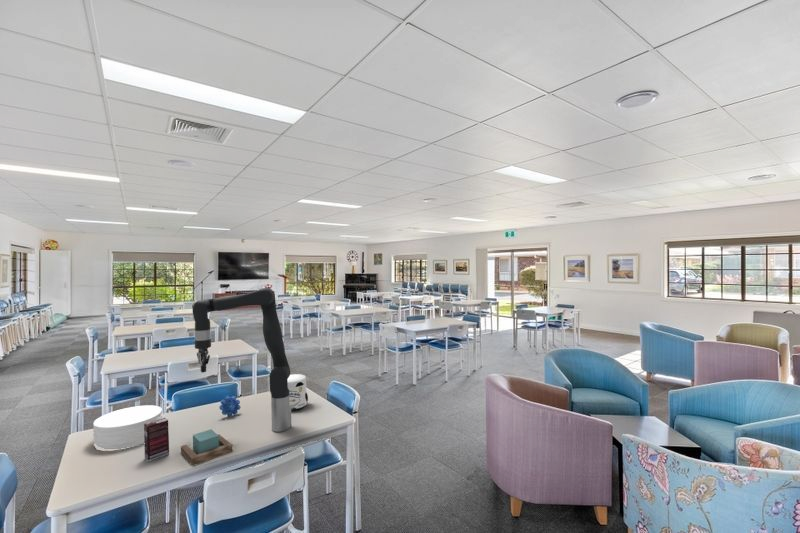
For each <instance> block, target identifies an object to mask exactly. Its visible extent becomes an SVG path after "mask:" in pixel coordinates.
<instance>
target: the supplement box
mask: <svg viewBox="0 0 800 533" xmlns="http://www.w3.org/2000/svg"><path fill="white" fill-rule="evenodd" d="M169 434H170V433H169V420H168V419H167V418H166V417H164V418H163V417H162V419H159V420H156V421H152V422H149V423H145V424H144V443H145V444H144V459H145V460H146V461H147V460H148V461H149V462H151V461H154V460H157V459H160V458H163V457H165V456H167V455H169V454H170V438H169V437H170V435H169ZM159 457H160V458H159ZM156 458H157V459H156ZM150 460H151V461H150ZM148 461H147V462H148Z"/></svg>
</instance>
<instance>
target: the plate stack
mask: <svg viewBox="0 0 800 533" xmlns="http://www.w3.org/2000/svg"><path fill="white" fill-rule="evenodd" d="M159 419H163V408H162V407H161V406H158V405H154V404H153V405H152V404H151V405H145V404H144V405H136V406H135V405H134V406H130V407H124V408H121V409H117V410H114V411H113V410H112V411H111V412H108V413H105V414H103V415H101V416H99V417H98V418H96V419H95V420H94V421H93V423H92V425H93V445H94V444H96V445H97V446H98V447H101V448H104V449H121V448H127V447H132V446H136V447H138V446H137V445H139V446H141V445H140V444H142V445H144V444H143V443H144V424H145V423H149V422H152V421H156V420H159Z"/></svg>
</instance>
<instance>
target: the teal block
mask: <svg viewBox="0 0 800 533" xmlns="http://www.w3.org/2000/svg"><path fill="white" fill-rule="evenodd" d="M217 447H219V435H218V433H217V432H215V431H214V430H213V429H207V430H204V431H201V432H197V433H195V434H192V450H193V451H194V452H195V453H196V455H197V454H200V453H203V452H206V451H209V450H212V449H214V448H217Z"/></svg>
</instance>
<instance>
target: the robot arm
mask: <svg viewBox="0 0 800 533" xmlns="http://www.w3.org/2000/svg"><path fill="white" fill-rule="evenodd" d="M276 304H277V303H276V295H275V292H274V290H273V289H272V288H269V287H261V288H259V289H258V290H255V291H251V292H248V293H243V294H233V295H226V296H225V295H224V296H219V297H216V298H207V299H206V298H205V299H201V300H197V301H195V302H194V303H193V304H192V315H193V320H194V349H195V350H196V349H197V350H198V352H196V356H197V361H198V364H199V365H200V372H201V373H206V372H207V365H208V364H209V361H210V358H211V355H210V354H209V349H208V348H212V332H211V320H210V318H209V317H208V313H212V312H217V311H218V312H221V311H227V310H233V309H236V308H242V307H247V306H248V307H249V306H260V309H261V312H262V334H263V339H264V342H265V345H266V348H267V350H268V352H269V353H270V355H271V359H272V365H273V368H272V369H271V370H270V372H269V379H268V380H269V392H270V396H271V398H270V400H271V401H270V403H271V430H272V431H273V432H277V433H279V432H284V431H287V430H289V429H290V428H292V410H291V409H290V397H289V389H288V381H287V379H288V378H289V376H290V375H291V368H290V364H289V361H288V357H287V355H286V349H285V344H284V338H283V332H282V328H281V323H280V320H279V316H278V312H277V305H276Z"/></svg>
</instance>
